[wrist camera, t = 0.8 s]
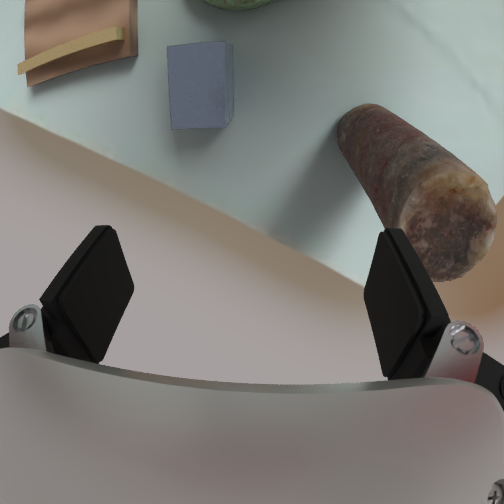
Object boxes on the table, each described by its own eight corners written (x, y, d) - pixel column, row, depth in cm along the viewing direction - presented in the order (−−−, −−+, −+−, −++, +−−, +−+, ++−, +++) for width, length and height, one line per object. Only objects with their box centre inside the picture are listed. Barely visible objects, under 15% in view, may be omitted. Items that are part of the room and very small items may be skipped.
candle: (346, 173, 32) (408, 300, 16) (322, 116, 28) (385, 200, 12) (403, 151, 29) (505, 257, 13) (384, 93, 26) (505, 153, 10)
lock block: (186, 48, 24) (167, 46, 20) (233, 45, 24) (224, 41, 19) (188, 116, 29) (171, 129, 24) (233, 115, 29) (225, 127, 24)
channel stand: (37, -26, 15) (18, -28, 11) (141, -70, 14) (127, -81, 11) (36, 84, 25) (17, 90, 22) (138, 55, 25) (121, 56, 21)
